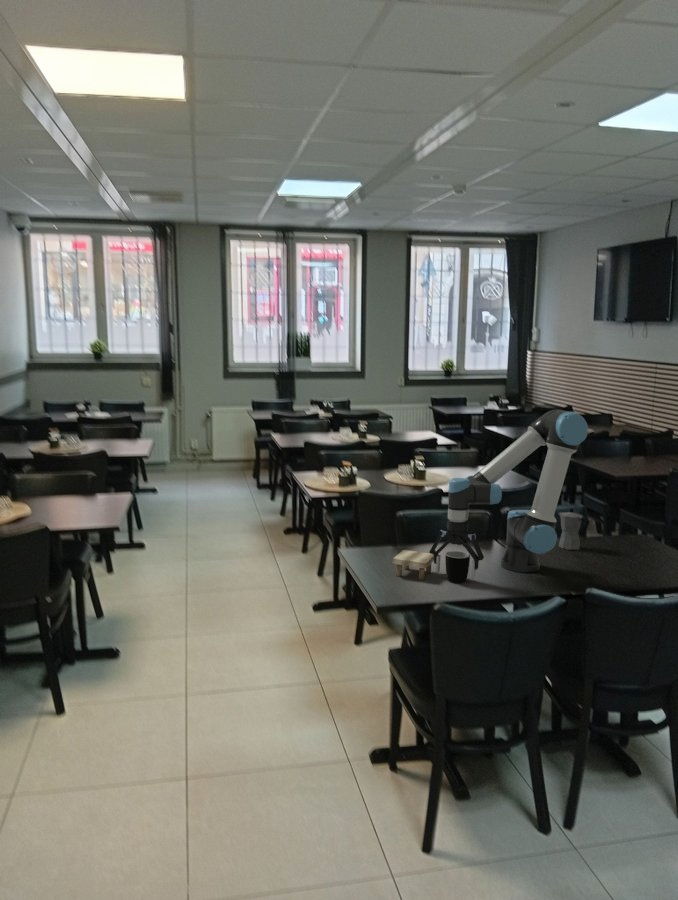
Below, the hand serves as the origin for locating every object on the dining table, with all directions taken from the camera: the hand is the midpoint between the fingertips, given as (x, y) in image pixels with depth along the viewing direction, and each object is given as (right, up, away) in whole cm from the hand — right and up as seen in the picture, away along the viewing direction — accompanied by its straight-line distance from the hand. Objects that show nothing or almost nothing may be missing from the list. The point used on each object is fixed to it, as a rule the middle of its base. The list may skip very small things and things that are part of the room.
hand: (455, 574), depth 266 cm
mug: (0, -2, 0) cm, 2 cm away
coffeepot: (+58, +3, +44) cm, 73 cm away
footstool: (-15, -1, +6) cm, 16 cm away
